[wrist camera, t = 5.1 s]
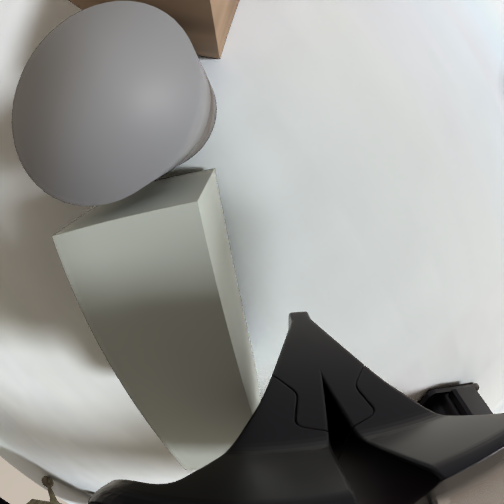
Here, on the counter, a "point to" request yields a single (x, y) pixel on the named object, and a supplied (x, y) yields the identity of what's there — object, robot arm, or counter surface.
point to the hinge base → (194, 34)
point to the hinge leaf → (142, 218)
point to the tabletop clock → (48, 483)
